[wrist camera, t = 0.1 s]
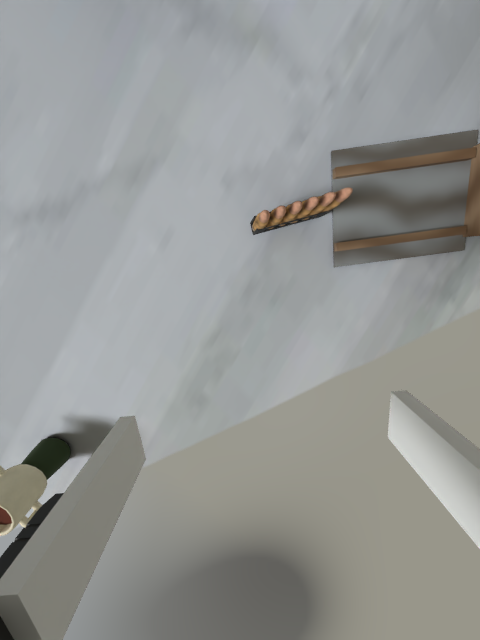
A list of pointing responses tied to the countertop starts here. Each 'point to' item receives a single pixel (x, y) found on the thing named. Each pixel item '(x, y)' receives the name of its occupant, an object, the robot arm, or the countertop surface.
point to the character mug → (29, 482)
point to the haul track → (406, 198)
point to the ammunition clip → (298, 211)
